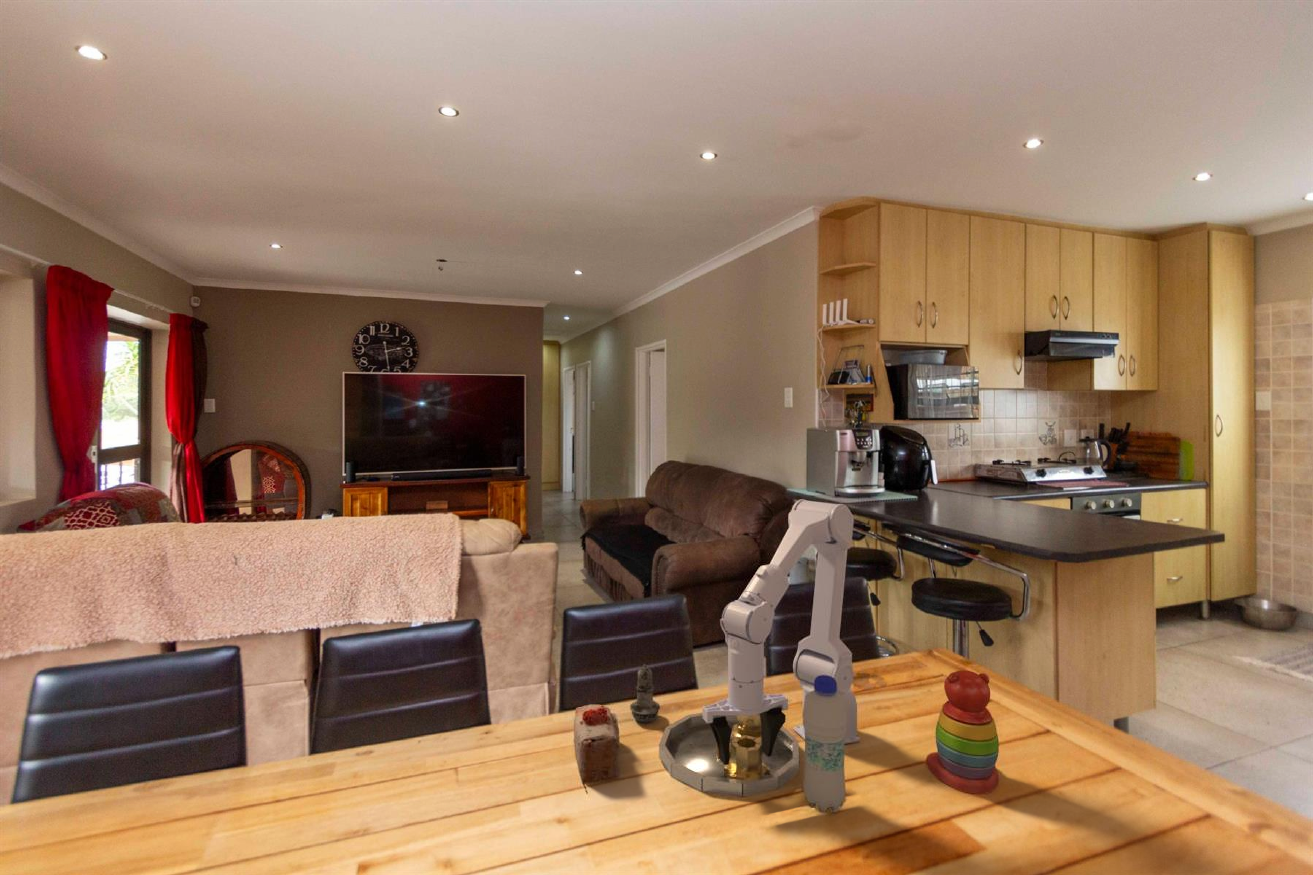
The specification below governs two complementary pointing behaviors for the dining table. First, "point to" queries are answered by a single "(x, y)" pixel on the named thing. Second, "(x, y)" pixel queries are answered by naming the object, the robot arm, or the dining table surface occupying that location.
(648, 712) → the grey chess piece
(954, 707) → the stacking bear
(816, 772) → the bottle
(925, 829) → the dining table surface
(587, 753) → the food item
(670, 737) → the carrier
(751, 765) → the planet gear
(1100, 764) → the dining table surface
